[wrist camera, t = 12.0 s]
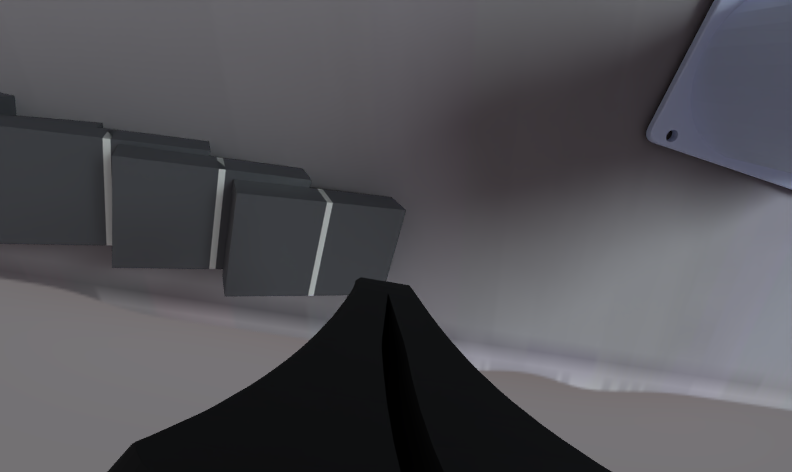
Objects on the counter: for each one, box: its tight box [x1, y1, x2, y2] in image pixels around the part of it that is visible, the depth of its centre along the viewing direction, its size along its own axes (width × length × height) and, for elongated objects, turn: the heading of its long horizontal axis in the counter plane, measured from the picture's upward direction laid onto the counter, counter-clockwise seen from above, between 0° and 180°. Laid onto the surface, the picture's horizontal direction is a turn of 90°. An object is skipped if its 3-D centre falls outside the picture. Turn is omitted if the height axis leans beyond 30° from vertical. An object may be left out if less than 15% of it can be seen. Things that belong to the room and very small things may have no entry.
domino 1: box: [0, 115, 210, 246], centre depth 16 cm, size 2×4×7 cm
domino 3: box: [223, 179, 406, 296], centre depth 18 cm, size 2×4×7 cm
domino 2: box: [112, 144, 311, 269], centre depth 17 cm, size 2×4×7 cm
